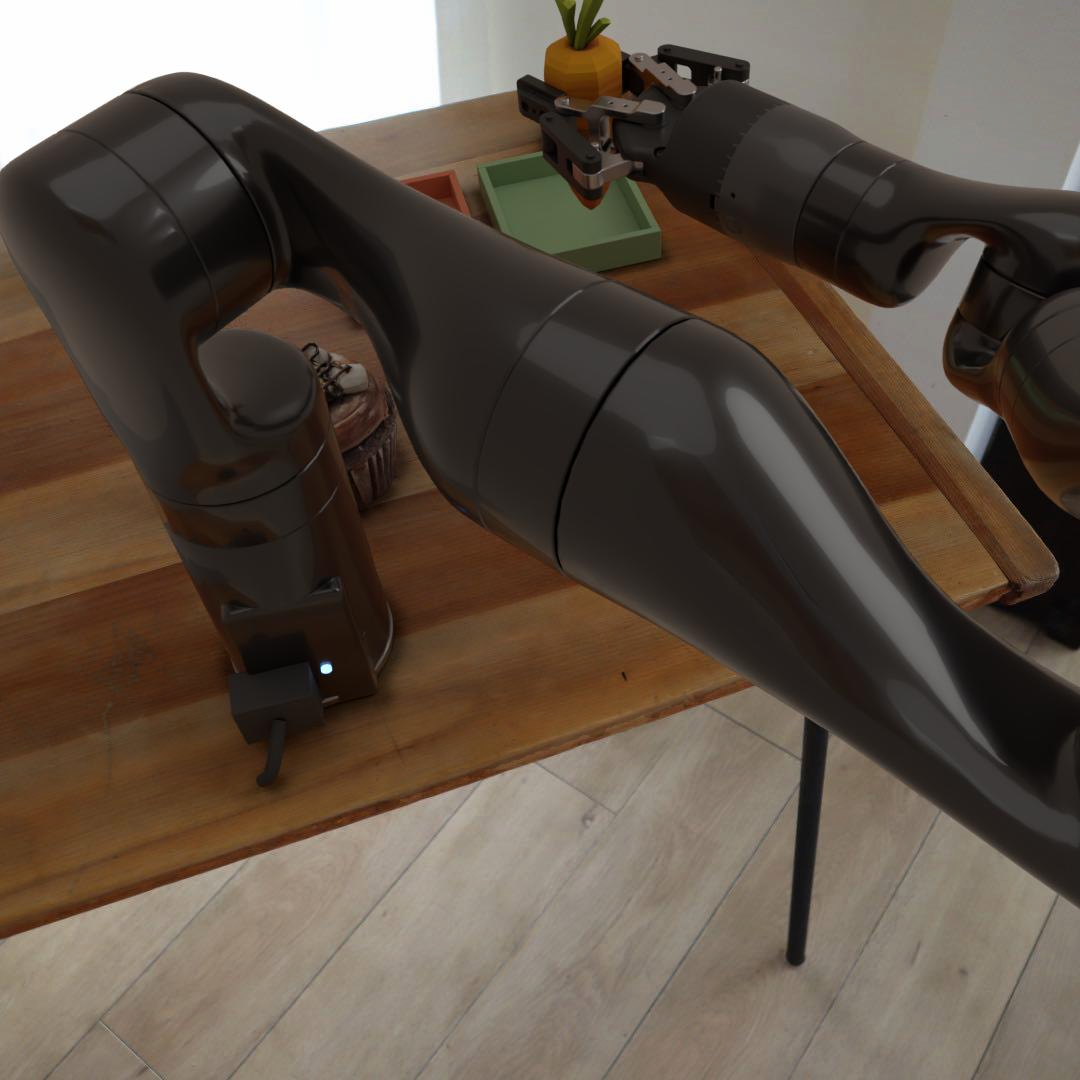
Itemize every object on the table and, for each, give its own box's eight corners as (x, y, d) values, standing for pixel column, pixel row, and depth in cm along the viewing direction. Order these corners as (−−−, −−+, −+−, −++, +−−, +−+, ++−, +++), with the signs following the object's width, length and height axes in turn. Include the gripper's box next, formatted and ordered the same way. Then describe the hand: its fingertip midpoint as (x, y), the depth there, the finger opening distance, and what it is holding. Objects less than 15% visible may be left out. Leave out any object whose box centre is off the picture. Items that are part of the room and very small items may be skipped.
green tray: (661, 258, 88) (661, 230, 86) (516, 289, 87) (513, 262, 85) (612, 163, 97) (611, 136, 95) (479, 191, 96) (476, 164, 94)
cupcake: (439, 452, 77) (415, 335, 70) (346, 552, 72) (309, 438, 65) (328, 402, 81) (294, 286, 73) (233, 494, 76) (185, 380, 69)
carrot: (543, 199, 79) (521, -28, 67) (612, 179, 79) (602, -48, 68) (569, 239, 75) (551, 9, 64) (641, 218, 76) (636, -13, 65)
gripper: (860, 56, 64) (632, -32, 72) (679, 174, 58) (456, 63, 67) (844, 177, 69) (634, 82, 78) (678, 295, 64) (472, 178, 72)
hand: (553, 74), depth 72 cm, fingers closed on carrot, 4 cm apart
